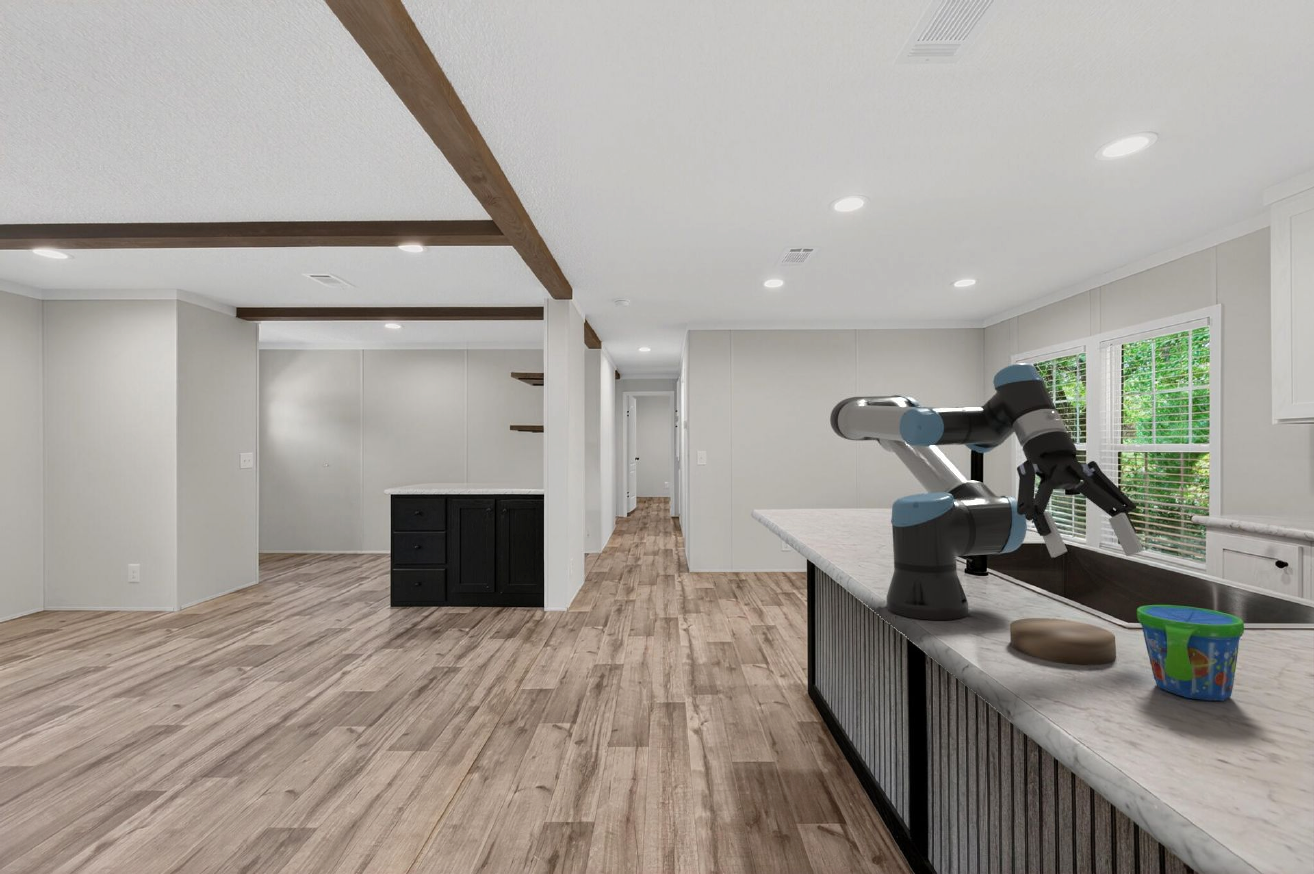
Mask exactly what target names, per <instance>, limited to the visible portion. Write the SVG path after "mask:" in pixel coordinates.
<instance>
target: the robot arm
mask: <svg viewBox="0 0 1314 874" xmlns="http://www.w3.org/2000/svg"><path fill="white" fill-rule="evenodd" d="M992 383H993V386H994V387H993V388H994V390H995V391H996V392H995V393H994V394H993V396H992V397H991V398H989V400H988V401H987V402H985V403H984V405H981V406H960V407H959V406H956V407H953V406H952V407H950V406H949V407H948V406H947V407H942V406H941V407H940V406H939V407H932V406H931V407H928V406H926V407H925V406H922V407H921V405H920V403H919V402H918V401H917V400H916V399H915V398H913V397H911V396H905V395H904V396H903V395H901V394H899V395H898V394H895V395H890V396H887V395H886V396H879V395H877V396H853V397H847V398H845V399H843V400H841V401H839V402H838V403H837V404H836V405H835V406H834V407H833V409H832V410H831V412H830V418H829V421H830V422H829V423H830V426H831V429H832V430H833V432H834V433H835V434H836V435H837V436H839V437H840V438H842V439H844V440H849V441H876V442H878V444H879V445H880V446H881V447H882V448H883V449H884V450H885V451H887V452H890V453H894V454H895V455H896V456H897V457H898V459H899V460H900V461H902V463H903V464H904V466H905V467H906V468H907V469H908V470H909V471H910V472H911V474H912V475H913V476H914V477H915V478H916V480H917V481H918V482H919V483H920V484H921V486H922V487H923V488H924V489H925V491H926V492H927V493H924V492H923V493H917V494H916V493H915V494H912V495H906V496H903V497H899V498H897V499H896V500H895V501H894V502H893V504H892V506H891V509H892V510H891V520H890V523H891V529H892V531H891V532H892V546H893V547H892V548H893V549H892V550H893V575H892V578H891V580H890V583H889V587H888V591H887V594H886V598H885V600H886V609H887V610H888V611H890V612H891V613H894V614H896V615H899V616H904V617H907V618H913V619H920V620H932V621H948V620H949V621H950V620H958V619H961V618H962V619H963V618H965V617H967V616H968V615H969V614H970V613H969V601H968V598H967V596H966V593H965V591H964V588H963V586H962V583H961V580H960V579H959V575H958V570H957V569H958V568H957V557H963V556H966V557H967V556H979V555H1001V554H1005V553H1012V552H1014V551H1016V550H1018V548H1020V547H1021V545H1022V544H1023V543H1024V541H1025V539H1026V535H1027V530H1028V529H1027V528H1028V524H1027V521H1032V522H1033V524H1034V528H1035V529H1036V531H1037V534H1038V535H1039V536H1040V537H1042V539H1043V542H1044V543H1045V546H1046V548H1047V550H1048V553H1049V555H1050V558H1056V557H1058V556H1061V555H1063V554H1065V553H1067V552H1068V549H1067V547H1066V545H1065V542H1064V540H1063V538H1062V536H1061V533H1060V531H1059V529H1058V527H1057V524H1056V522H1055V519H1054V517H1053V515H1052V513H1051V512H1046V509H1047V507H1048V505H1049V502H1050V499H1051V496H1052V494H1053V492H1054V490H1061V489H1063V490H1072V491H1073V492H1075V493H1079V494H1081V495H1083V496H1084V497H1085V498H1086V499H1087V500H1089V501H1090V502H1091V503H1093V504H1094V505H1096V507H1098V508H1099V509H1101V510H1102V511H1103V512H1105V514H1107V515H1109V516H1110V517H1111V518H1108V522H1109V524H1110V526H1111V528H1112V530H1113V533H1115V536H1116V538H1117V540H1118V542H1119V544H1120V546H1121V548H1122V550H1123V552H1124V554H1125V556H1126V557H1132V556H1134V555H1136V554H1139V553H1142V552H1143V551H1144V547H1143V546H1142V544H1141V541H1140V540H1139V538H1138V536H1137V534H1136V532H1137V531H1136V528H1135V525H1134V524H1133V522H1132V520H1131V517H1130V516H1129V513H1131V512H1133V511H1135V510H1136V509H1137V505H1136V504H1135V503H1134V502H1133V501H1132V500H1131V499H1130V497H1128V496H1127V495H1126V494H1125V493H1124V492H1123V490H1121V489H1120V488H1119V487H1118V486H1117V485H1116V484H1115V483H1114V482H1113V481H1112V480H1111V479H1110V478H1109V477H1108V476H1107V475H1106V474H1105V473H1104V472H1103V471H1102V469H1101V468H1100V467H1099V464H1098V463H1097V462H1096V461H1094V460H1091V461H1090V462H1088V463H1085V464H1082V463H1080V462H1079V460H1078V459H1077V452H1078V449H1077V447H1076V445H1075V443H1074V441H1073V438H1072V437H1071V435H1070V434H1069V433H1068V432H1067V431H1068V429H1067V428H1066V426H1065V424H1064V421H1063V419H1062V417H1061V415H1060V413H1059V410H1058V409H1057V407H1056V406H1055V403H1054V401H1053V399H1052V397H1051V395H1050V393H1049V391H1048V387H1047V386H1046V384H1045V383H1046V382H1045V380H1044V379H1043V378H1042V377H1041V374H1040V373H1039V372H1038V369H1036V367H1035V366H1034V365H1032V364H1030V363H1022V362H1021V363H1019V362H1018V363H1015V364H1010V365H1008V366H1006V367H1003V368H1001V369H1000V370H999V371H998V372H997V373H996V374H995V375H994V377H993V382H992ZM1013 434H1015V435H1016V436H1015V437H1016V439H1017V440H1018V443H1019V445H1020V446H1021V447H1022V452H1023V454H1024V456H1025V458H1026V460H1025V461H1024V462H1023V463H1021V464H1020V465H1018V466H1017V467H1016V471H1017V474H1018V477H1019V478H1018V479H1019V480H1018V489H1017V490H1018V491H1017V492H1018V493H1017V499H1016V498H1014V497H1012V496H1009V495H1000V496H998V495H996V494H995V493H994V492H993V491H992V490H991V489H990V488H989V487H988V486H987V485H986V484H985V483H983V482H981V481H977V480H971V479H970V478H969V477H968V475H966V474H965V473H964V472H963V471H962V470H961V469H960V468H959V466H958V465H957V464H956V463H955V462H954V461H953V460H952V459H951V458H950V457H949V456H948V455H947V453H946V452H944V451H943V450H942V448H940V447H939V446H951V445H952V446H953V445H955V446H956V445H957V446H958V445H959V446H964V445H965V446H966V448H967V449H969V450H970V451H976V452H977V453H980V454H985V453H989V452H991V451H993V450H994V449H996V448H998V447H999V446H1001V445H1002V444H1004V443H1005V441H1006V440H1007V439H1008V438H1009V437H1010V436H1011V435H1013ZM1036 476H1037V477H1039V478H1040V480H1039V483H1038V485H1037V491H1036V493H1035V489H1036V488H1035V487H1036ZM1081 481H1082V482H1081ZM1045 512H1046V513H1045Z"/></svg>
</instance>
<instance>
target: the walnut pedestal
mask: <svg viewBox="0 0 1314 874" xmlns="http://www.w3.org/2000/svg"><path fill="white" fill-rule="evenodd" d="M1009 631H1010V632H1009V633H1010V635H1009V636H1010V646H1011V647H1012V648H1013V649H1015V650H1016V651H1019V652H1021V653H1023V654H1025V655H1028V656H1031V657H1034V658H1037V659H1042V660H1046V661H1051V662H1055V663H1062V664H1072V665H1085V664H1086V665H1088V664H1089V665H1091V664H1093V666H1094V665H1101V664H1102V665H1103V664H1104V665H1105V664H1109V663H1112V662H1113V660H1114V661H1115V660H1116V659H1117V648H1116V636H1115V634H1114V633H1113V632H1112V631H1109V630H1107V629H1105V628H1102V627H1099V626H1097V625H1093V624H1089V623H1084V622H1079V621H1075V620H1066V619H1060V618H1046V617H1045V618H1043V617H1035V618H1034V617H1032V618H1031V617H1030V618H1028V617H1027V618H1022V619H1016V620H1014V621H1012V622H1010V624H1009ZM1108 662H1109V663H1108Z"/></svg>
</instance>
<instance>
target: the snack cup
mask: <svg viewBox="0 0 1314 874" xmlns="http://www.w3.org/2000/svg"><path fill="white" fill-rule="evenodd" d="M1136 619H1137V621H1138V622H1139V623H1140V625H1141V628H1142V633H1143V637H1144V641H1145V646H1146V651H1147V654H1148V658H1149V664H1150V666H1151V671H1152V677H1153V679H1154V681H1155V683H1156V686H1158V688H1159V689H1163V690H1164V691H1166V692H1169V693H1171V694H1175V695H1177V696H1182V697H1184V698H1186V699H1196V700H1200V701H1201V700H1202V701H1221V702H1223V701H1225V700H1227V699H1228V698H1230V697H1231V696H1232V693H1233V689H1234V685H1235V684H1234V682H1235V678H1236V677H1235V676H1236V668H1237V662H1238V655H1239V646H1240V645H1239V644H1240V639H1241V637H1243V635H1244V632H1245V626H1244V621H1243V620H1242V619H1241V618H1239V617H1237V616H1235V615H1233V614H1229V613H1226V612H1221V611H1219V610H1218V611H1217V610H1213V609H1208V608H1201V607H1200V608H1199V607H1194V606H1184V605H1173V604H1152V605H1151V604H1150V605H1148V604H1147V605H1142V606H1139V607H1138V608H1137V609H1136Z"/></svg>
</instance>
